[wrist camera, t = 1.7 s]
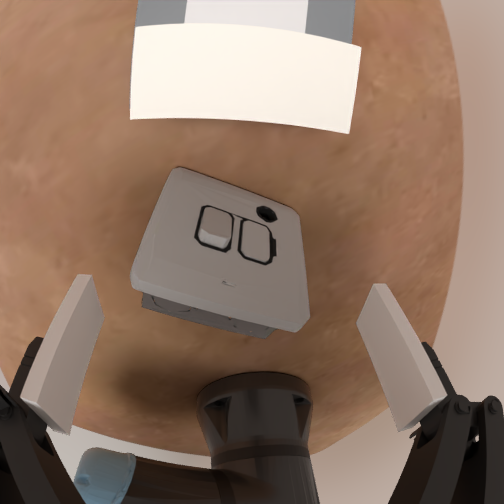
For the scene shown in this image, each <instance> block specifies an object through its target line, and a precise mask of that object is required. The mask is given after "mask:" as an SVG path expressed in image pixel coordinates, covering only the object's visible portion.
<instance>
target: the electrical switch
mask: <svg viewBox="0 0 504 504" xmlns="http://www.w3.org/2000/svg"><path fill="white" fill-rule="evenodd" d="M130 280H131V284H132V287H133V288H134V289H136V290H139V291H141V292H143V298H142V301H143V302H142V303H141V304H142V307H143V308H147V309H150V310H153V311H156V312H160V313H163V314H167V315H170V316H174V317H177V318H181V319H184V320H188V321H192V322H196V323H199V324H203V325H207V326H211V327H215V328H219V329H223V330H227V331H231V332H235V333H240V334H244V335H249V336H253V337H258V338H262V339H265V338H267V337H268V336H269V335H270V334H271V333H272V332H273V331H274V330H276V329H282V330H286V331H291V332H297V331H298V330H300V329H301V328H302V327H303V325H304V324H305V323H306V322H307V321H308V319H309V318H310V309H309V298H308V287H307V277H306V268H305V259H304V250H303V241H302V233H301V225H300V217H299V215H298V214H297V213H296V212H295V211H294V210H293V209H292V208H290V207H287V206H285V205H282V204H280V203H277V202H275V201H272V200H270V199H267V198H265V197H262V196H259V195H257V194H254V193H251V192H249V191H246V190H244V189H241V188H238V187H236V186H233V185H230V184H227V183H225V182H222V181H219V180H216V179H214V178H211V177H208V176H205V175H202V174H199V173H197V172H194V171H191V170H188V169H185V168H181V167H179V168H175V169H172V171H171V173H170V175H169V177H168V179H167V181H166V183H165V185H164V188H163V190H162V192H161V194H160V197H159V199H158V201H157V204H156V206H155V208H154V211H153V213H152V216H151V218H150V221H149V223H148V226H147V228H146V231H145V233H144V236H143V238H142V241H141V243H140V246H139V249H138V252H137V254H136V257H135V260H134V262H133V265H132V269H131V272H130ZM154 300H155V302H154ZM190 308H191V309H190ZM189 309H190V310H189ZM229 317H232V318H231V319H230V318H229ZM250 331H252V332H250Z"/></svg>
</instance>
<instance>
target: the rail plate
mask: <svg viewBox="0 0 504 504" xmlns="http://www.w3.org/2000/svg"><path fill="white" fill-rule="evenodd" d="M354 12H355V0H138V7H137V14H136V22H135V30H134V39H133V50H132V62H131V79H130V119H150V118H210V119H232V120H247V121H259V122H270V123H279V124H288V125H296V126H303V127H310V128H317V129H323V130H329V131H335V132H341V133H346V134H349V130H350V124H351V118H352V112H353V106H354V99H355V93H356V86H357V78H358V71H359V63H360V55H361V47H359V46H355V45H352V44H351V43H352V34H353V23H354Z"/></svg>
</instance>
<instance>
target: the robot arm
mask: <svg viewBox="0 0 504 504" xmlns="http://www.w3.org/2000/svg"><path fill="white" fill-rule="evenodd" d="M104 318H105V317H104V314H103V311H102V308H101V305H100V302H99V298H98V295H97V292H96V288H95V285H94V281H93V277H92V275H86V274H78V275H77V276H76V278H75V280H74V281H73V283H72V285H71V287H70V289H69V290H68V292H67V294H66V296H65V298H64V300H63V301H62V303H61V305H60V307H59V309H58V311H57V313H56V315H55V317H54V319H53V321H52V323H51V325H50V327H49V329H48V331H47V333H46V335H45V337H44V338H41V337H36V338H35V339H34V340H33V341H32V342H31V343H30V344H29V346H28V348H27V350H26V352H25V354H24V357H23V359H22V361H21V365H20V366H19V368H18V370H17V373H16V375H15V378H14V380H13V383H12V385H11V388H10V391H9V393H8V392H7V391H6V390H5V389H4V388H3V387H2V386H1V385H0V504H320V502H319V497H318V492H317V488H316V483H315V478H314V474H313V469H312V464H311V460H310V455H309V450H308V438H309V432H310V425H311V418H312V410H313V401H312V397H311V393H310V389H309V387H308V385H307V384H306V383H305V382H304V381H302V380H301V379H299V378H296V377H293V376H290V375H286V374H280V373H267V372H261V373H247V374H240V375H235V376H231V377H227V378H224V379H221V380H218V381H216V382H214V383H212V384H210V385H208V386H207V387H205V388H204V389H203V390H202V391H201V392H200V393H199V395H198V397H197V418H198V421H199V424H200V427H201V429H202V432H203V435H204V437H205V440H206V443H207V445H208V448H209V450H210V453H211V469H207V468H199V467H192V466H185V465H178V464H173V463H167V462H162V461H157V460H152V459H147V458H143V457H138V456H135V455H134V454H132V453H120V452H115V451H111V450H107V449H103V448H97V447H96V448H91V449H88V450H87V451H85V452H84V454H83V455H82V458H81V460H80V463H79V466H78V469H77V472H76V475H75V479H74V482H72V480H71V478H70V477H69V475H68V473H67V471H66V469H65V468H64V466H63V464H62V462H61V460H60V458H59V456H58V454H57V452H56V450H55V448H54V445H53V443H52V441H51V439H50V437H49V435H48V433H47V432H46V428H47V425H48V426H49V427H50V428H51V429H53V431H56V432H59V433H62V434H66V435H70V431H71V426H72V422H73V418H74V414H75V410H76V406H77V402H78V399H79V395H80V391H81V388H82V384H83V381H84V378H85V374H86V371H87V368H88V365H89V362H90V358H91V355H92V352H93V349H94V346H95V343H96V341H97V338H98V335H99V332H100V329H101V327H102V324H103V321H104ZM356 325H357V327H358V330H359V332H360V334H361V337H362V339H363V341H364V344H365V346H366V348H367V351H368V353H369V356H370V358H371V361H372V363H373V366H374V368H375V371H376V373H377V376H378V378H379V381H380V383H381V386H382V388H383V391H384V394H385V396H386V399H387V402H388V404H389V407H390V410H391V413H392V415H393V418H394V421H395V423H396V427H397V429H398V432H400V431H403V430H406V429H409V428H412V427H413V426H415V425H416V424H417V423H418V422H419V421H420V424H421V427H419V428H418V429H417V430H416V431H414V432H413V433H412V434H411V435H410V437H409V438H412V437H413V436H415V435H416V437H415V439H414V443H413V446H412V449H411V452H410V454H409V457H408V459H407V462H406V465H405V467H404V469H403V472H402V474H401V476H400V479H399V481H398V483H397V485H396V488H395V490H394V492H393V494H392V496H391V498H390V500H389V503H388V504H504V415H503V408H502V404H501V402H500V401H499V399H498V398H496V397H495V396H488V397H487V398H486V399H484V400H483V401H482V402H470V401H469V400H468V399H467V398H466V397H464V396H463V395H457V394H456V392H455V390H454V388H453V386H452V384H451V382H450V380H449V378H448V376H447V374H446V373H445V370H444V369H443V368H442V365H441V363H440V361H438V357H437V355H436V354H435V352H434V350H433V349H432V348H431V347H430V346H429V345H428V344H427V343H426V342H422V343H421V342H420V341H419V339H418V337H417V335H416V333H415V332H414V330H413V328H412V326H411V325H410V323H409V321H408V319H407V318H406V316H405V314H404V312H403V311H402V309H401V307H400V306H399V304H398V302H397V301H396V299H395V298H394V296H393V294H392V293H391V291H390V289H389V288H388V286H387V285H386V284H373V285H372V288H371V290H370V292H369V295H368V297H367V299H366V302H365V304H364V306H363V308H362V311H361V313H360V315H359V317H358V320H357V322H356ZM477 435H479V441H477V442H476V440H475V437H476V436H477Z"/></svg>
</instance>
